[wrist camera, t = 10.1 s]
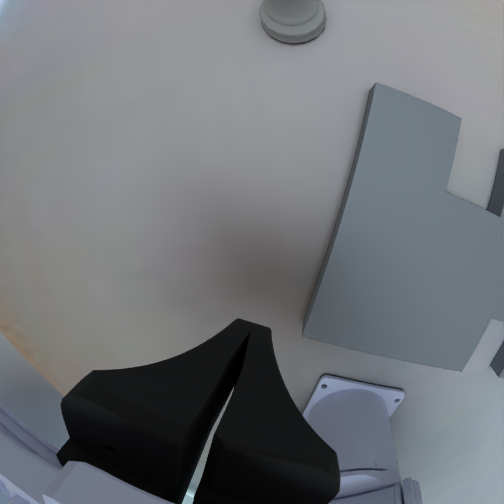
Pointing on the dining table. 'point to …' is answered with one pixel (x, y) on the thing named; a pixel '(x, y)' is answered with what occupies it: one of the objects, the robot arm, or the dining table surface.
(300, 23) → the rook chess piece
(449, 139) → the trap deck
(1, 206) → the dining table surface
